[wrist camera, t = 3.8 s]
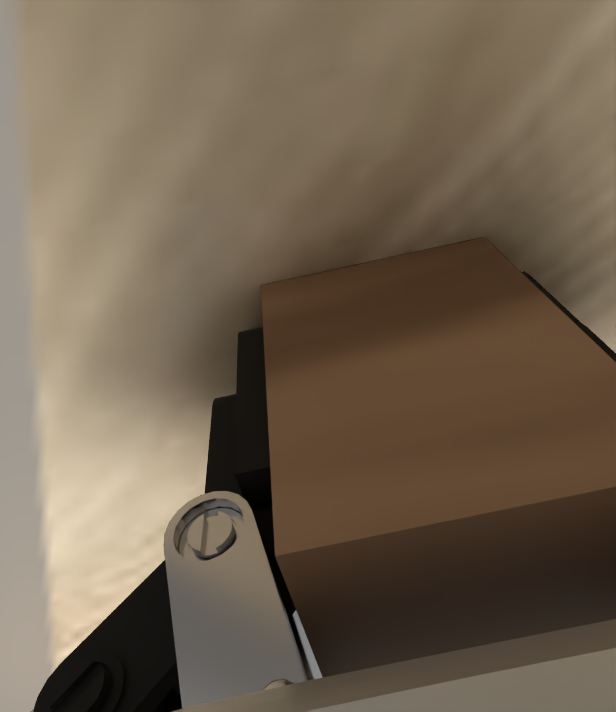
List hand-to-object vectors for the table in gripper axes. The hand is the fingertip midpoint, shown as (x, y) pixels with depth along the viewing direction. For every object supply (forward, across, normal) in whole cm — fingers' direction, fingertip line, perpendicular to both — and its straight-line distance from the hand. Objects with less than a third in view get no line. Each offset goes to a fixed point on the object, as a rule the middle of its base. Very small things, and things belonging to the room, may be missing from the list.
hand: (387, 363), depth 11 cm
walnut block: (0, 0, 0) cm, 0 cm away
